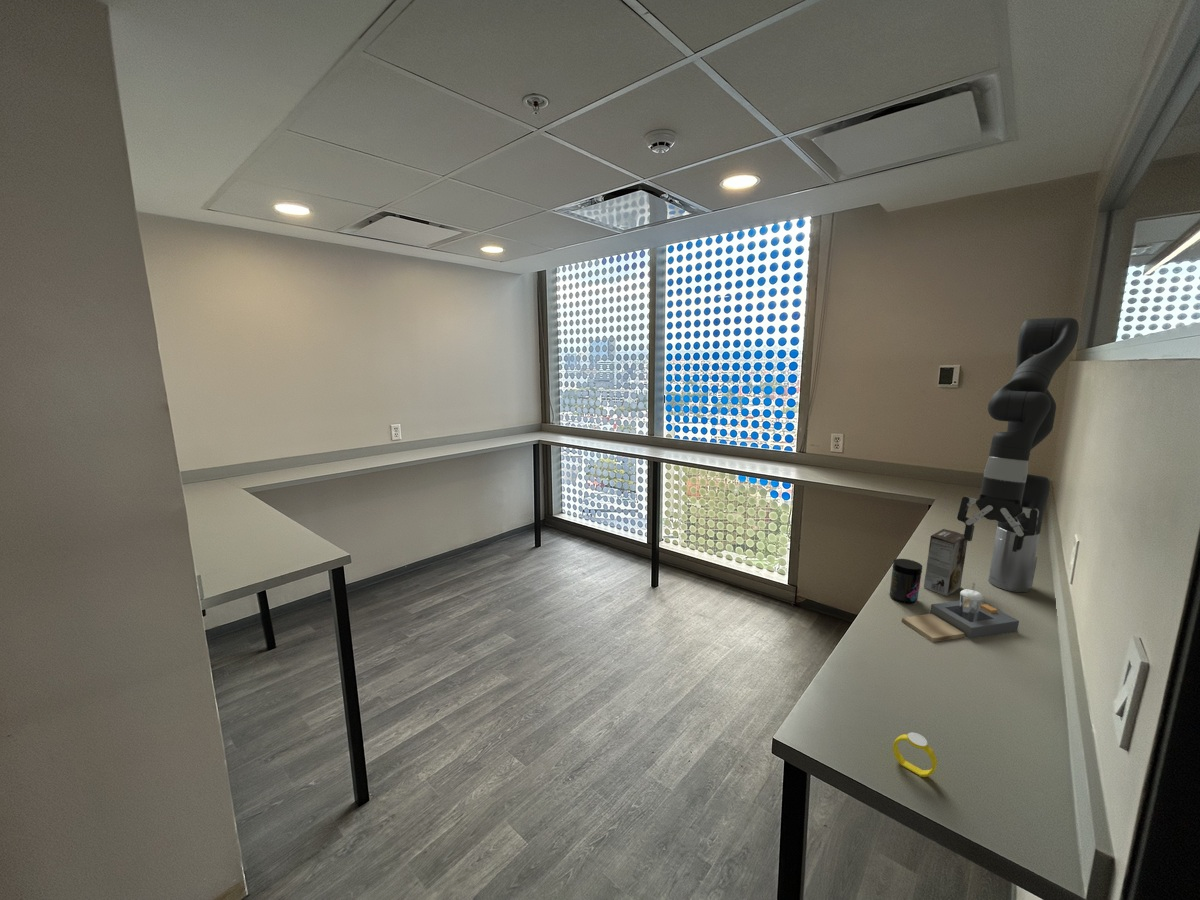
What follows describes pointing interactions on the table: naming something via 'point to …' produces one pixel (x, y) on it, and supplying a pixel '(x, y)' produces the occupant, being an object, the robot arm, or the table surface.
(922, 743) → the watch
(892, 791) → the table surface
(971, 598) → the milkshake
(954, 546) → the coffee box
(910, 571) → the supplement container
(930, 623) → the cork pad
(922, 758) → the table surface
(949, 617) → the gray window plate
